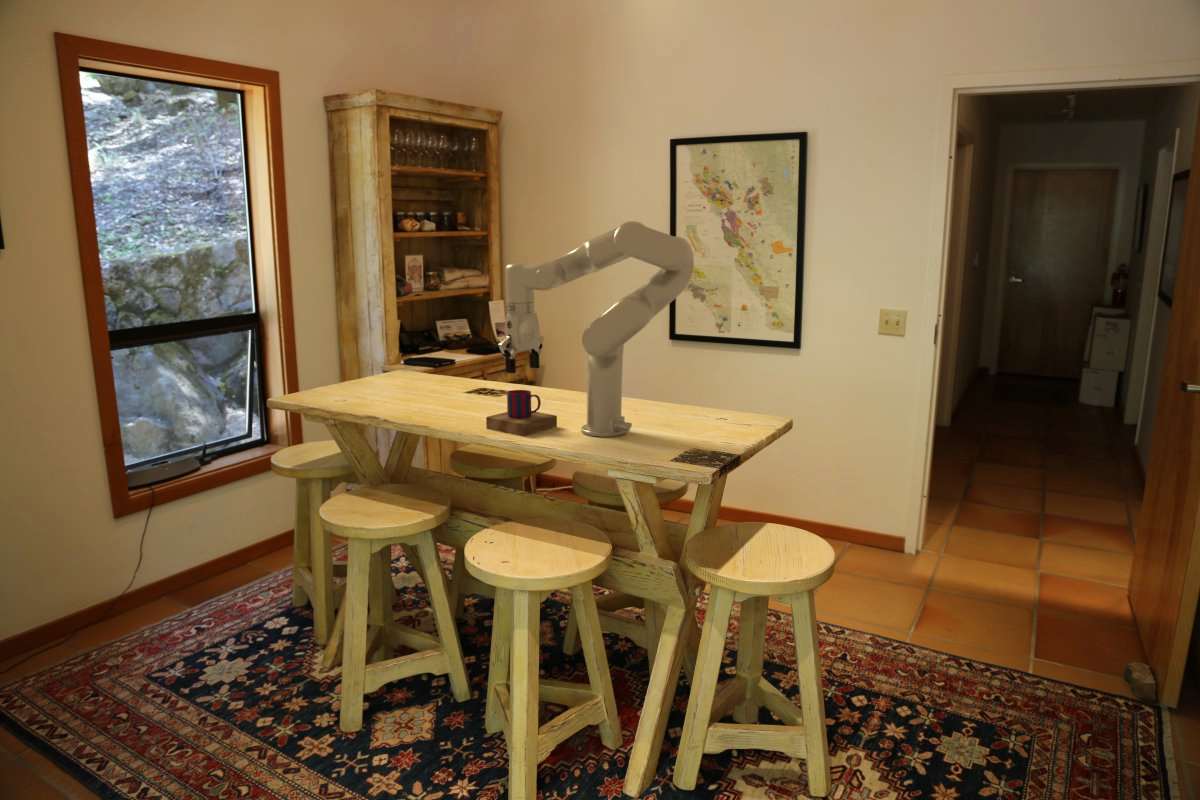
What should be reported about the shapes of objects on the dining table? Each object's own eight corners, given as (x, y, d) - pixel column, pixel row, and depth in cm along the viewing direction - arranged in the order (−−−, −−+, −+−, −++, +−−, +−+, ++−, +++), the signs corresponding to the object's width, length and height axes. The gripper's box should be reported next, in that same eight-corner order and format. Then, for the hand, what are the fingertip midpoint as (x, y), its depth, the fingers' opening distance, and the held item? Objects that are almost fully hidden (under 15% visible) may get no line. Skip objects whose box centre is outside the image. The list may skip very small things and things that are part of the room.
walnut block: (556, 429, 240) (556, 415, 239) (523, 438, 228) (523, 424, 228) (520, 422, 248) (519, 408, 247) (486, 430, 237) (486, 416, 236)
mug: (517, 412, 242) (516, 389, 241) (545, 416, 237) (545, 392, 236) (502, 416, 237) (502, 392, 235) (531, 420, 232) (531, 395, 230)
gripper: (509, 312, 222) (511, 376, 226) (551, 306, 236) (553, 367, 239) (488, 310, 227) (491, 373, 230) (531, 305, 240) (533, 364, 244)
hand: (522, 370), depth 235 cm, fingers open, 9 cm apart
